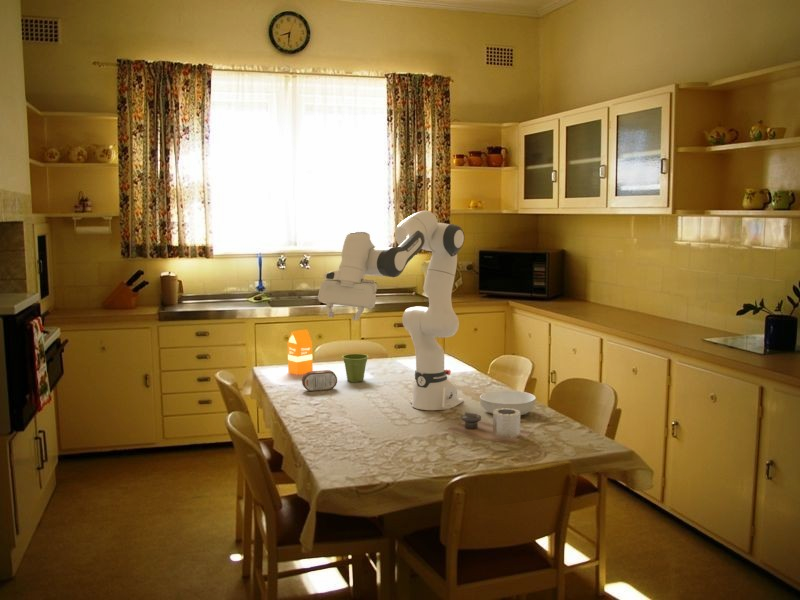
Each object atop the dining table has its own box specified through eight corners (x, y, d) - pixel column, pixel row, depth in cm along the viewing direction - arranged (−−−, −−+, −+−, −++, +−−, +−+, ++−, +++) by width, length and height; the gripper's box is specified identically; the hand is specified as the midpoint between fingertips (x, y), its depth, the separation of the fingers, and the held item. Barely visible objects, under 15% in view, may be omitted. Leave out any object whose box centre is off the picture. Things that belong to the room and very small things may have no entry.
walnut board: (469, 423, 271) (469, 419, 271) (533, 436, 256) (533, 432, 255) (443, 434, 259) (443, 430, 259) (510, 448, 243) (510, 444, 243)
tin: (336, 388, 326) (336, 368, 325) (338, 389, 323) (337, 370, 322) (302, 391, 321) (301, 371, 320) (303, 392, 318) (303, 373, 317)
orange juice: (288, 372, 357) (287, 330, 354) (303, 369, 363) (302, 328, 360) (297, 374, 351) (296, 332, 349) (313, 371, 357) (312, 330, 355)
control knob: (468, 423, 266) (468, 409, 265) (484, 427, 262) (484, 412, 261) (457, 428, 261) (457, 413, 260) (474, 431, 257) (474, 416, 256)
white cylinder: (501, 429, 259) (501, 406, 258) (524, 434, 254) (525, 410, 252) (487, 435, 252) (488, 412, 251) (511, 440, 246) (511, 417, 245)
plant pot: (344, 384, 332) (344, 359, 330) (340, 378, 343) (340, 354, 342) (371, 382, 334) (370, 358, 333) (366, 377, 346) (365, 352, 344)
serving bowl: (524, 405, 295) (524, 388, 294) (543, 420, 275) (544, 402, 274) (473, 408, 292) (473, 391, 291) (488, 423, 271) (488, 405, 270)
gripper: (382, 283, 249) (374, 323, 247) (328, 277, 257) (321, 317, 255) (374, 278, 243) (366, 320, 241) (319, 273, 252) (312, 313, 249)
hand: (342, 318), depth 248 cm, fingers open, 8 cm apart
